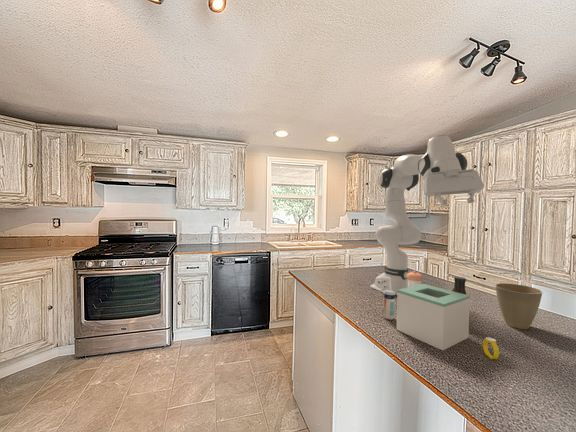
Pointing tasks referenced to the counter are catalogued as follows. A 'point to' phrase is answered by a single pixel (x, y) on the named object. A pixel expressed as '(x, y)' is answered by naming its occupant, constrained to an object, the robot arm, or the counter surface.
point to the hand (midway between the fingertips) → (457, 203)
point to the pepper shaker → (414, 278)
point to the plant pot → (518, 304)
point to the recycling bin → (433, 315)
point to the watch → (495, 347)
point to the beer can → (389, 304)
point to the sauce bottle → (459, 285)
